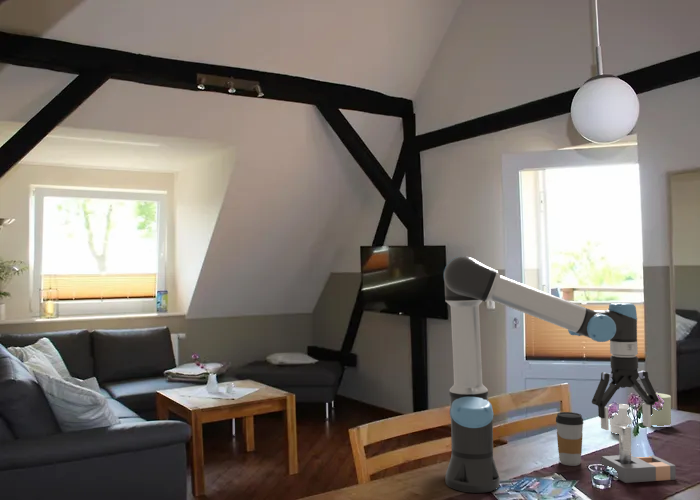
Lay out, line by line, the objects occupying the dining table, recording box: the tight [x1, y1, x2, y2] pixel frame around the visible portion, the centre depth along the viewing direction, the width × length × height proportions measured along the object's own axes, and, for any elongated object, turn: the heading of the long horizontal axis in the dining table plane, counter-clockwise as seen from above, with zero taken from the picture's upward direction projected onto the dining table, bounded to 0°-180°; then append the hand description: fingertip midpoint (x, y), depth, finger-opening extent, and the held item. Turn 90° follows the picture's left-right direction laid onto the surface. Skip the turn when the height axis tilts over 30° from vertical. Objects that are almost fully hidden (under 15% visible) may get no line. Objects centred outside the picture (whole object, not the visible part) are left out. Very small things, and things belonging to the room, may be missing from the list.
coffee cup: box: [555, 411, 584, 466], centre depth 202 cm, size 8×8×15 cm
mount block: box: [601, 454, 677, 484], centre depth 191 cm, size 16×12×4 cm
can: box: [647, 392, 672, 426], centre depth 249 cm, size 9×9×12 cm
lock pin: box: [618, 426, 632, 464], centre depth 190 cm, size 3×3×14 cm
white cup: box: [608, 403, 633, 434], centre depth 237 cm, size 8×8×10 cm
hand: (626, 427), depth 190 cm, fingers open, 13 cm apart
